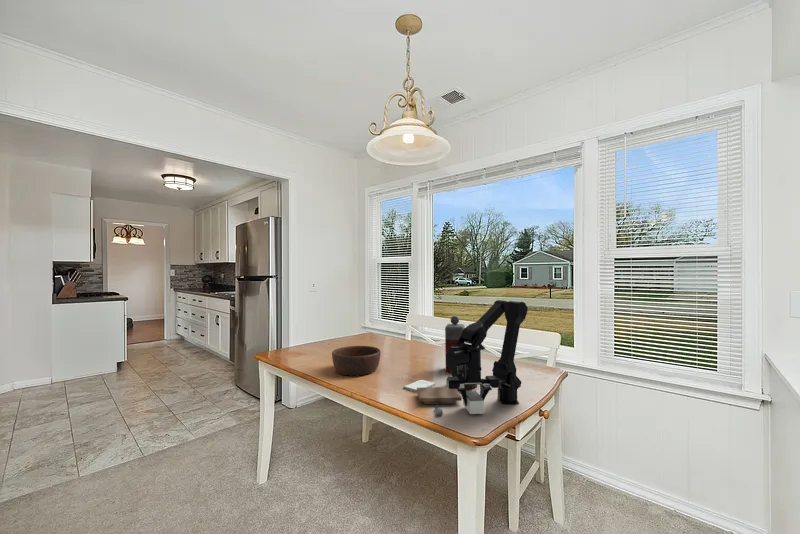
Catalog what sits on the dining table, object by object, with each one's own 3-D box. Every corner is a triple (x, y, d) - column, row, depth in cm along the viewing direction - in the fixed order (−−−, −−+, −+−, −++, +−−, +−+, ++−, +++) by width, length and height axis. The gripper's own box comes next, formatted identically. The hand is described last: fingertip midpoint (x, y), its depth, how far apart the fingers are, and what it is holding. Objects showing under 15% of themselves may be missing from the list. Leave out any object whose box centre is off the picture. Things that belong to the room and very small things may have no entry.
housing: (463, 404, 130) (463, 390, 130) (476, 403, 131) (475, 390, 131) (470, 414, 121) (470, 399, 121) (484, 413, 122) (483, 399, 122)
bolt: (433, 409, 128) (433, 402, 128) (440, 409, 128) (440, 402, 128) (435, 416, 122) (435, 409, 122) (442, 416, 122) (442, 408, 122)
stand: (455, 394, 144) (455, 386, 144) (461, 405, 132) (461, 397, 132) (416, 394, 143) (416, 387, 143) (419, 406, 131) (419, 398, 131)
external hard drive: (403, 389, 151) (420, 382, 160) (418, 394, 145) (435, 386, 155) (403, 386, 151) (420, 379, 160) (418, 390, 146) (435, 382, 155)
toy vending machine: (465, 367, 182) (464, 314, 182) (463, 373, 171) (463, 317, 172) (448, 366, 184) (447, 314, 185) (445, 372, 174) (445, 316, 174)
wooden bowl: (390, 370, 179) (390, 350, 179) (352, 381, 161) (352, 359, 161) (359, 361, 197) (359, 343, 197) (322, 371, 178) (322, 351, 179)
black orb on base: (452, 379, 162) (452, 347, 163) (481, 382, 158) (480, 349, 158) (446, 388, 150) (445, 354, 150) (477, 392, 145) (476, 356, 146)
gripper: (491, 356, 134) (491, 397, 134) (443, 357, 134) (444, 398, 133) (500, 364, 123) (501, 408, 123) (448, 365, 122) (449, 409, 122)
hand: (473, 405), depth 126 cm, fingers closed on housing, 5 cm apart
